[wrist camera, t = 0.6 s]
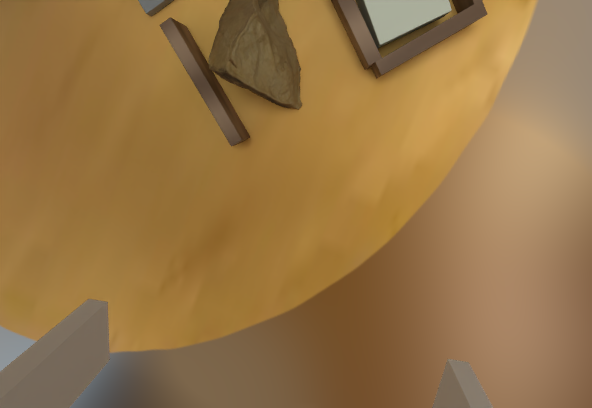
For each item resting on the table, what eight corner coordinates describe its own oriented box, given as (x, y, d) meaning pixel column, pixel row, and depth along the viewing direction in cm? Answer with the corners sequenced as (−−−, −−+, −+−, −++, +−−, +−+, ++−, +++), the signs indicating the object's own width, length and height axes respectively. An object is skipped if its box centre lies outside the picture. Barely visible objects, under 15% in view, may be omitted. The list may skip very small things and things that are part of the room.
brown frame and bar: (169, 21, 33) (151, 12, 30) (408, -148, 28) (419, -183, 25) (246, 152, 36) (237, 157, 33) (476, 20, 31) (494, 10, 27)
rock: (218, -48, 29) (181, 67, 31) (264, -79, 23) (214, 70, 24) (312, 19, 36) (278, 111, 37) (369, 11, 29) (325, 123, 31)
